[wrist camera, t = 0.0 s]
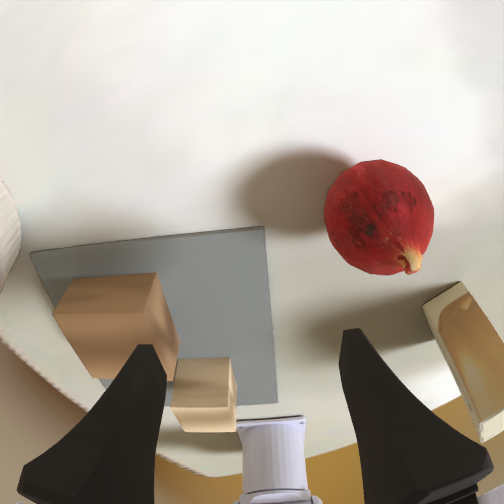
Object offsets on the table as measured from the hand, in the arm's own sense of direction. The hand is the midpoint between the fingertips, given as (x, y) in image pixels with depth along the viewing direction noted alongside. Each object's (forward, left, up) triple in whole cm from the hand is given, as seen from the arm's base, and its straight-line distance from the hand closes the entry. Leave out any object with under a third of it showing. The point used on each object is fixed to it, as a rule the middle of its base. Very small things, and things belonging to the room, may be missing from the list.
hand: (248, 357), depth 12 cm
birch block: (-14, +5, -10) cm, 18 cm away
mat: (-10, +8, -10) cm, 16 cm away
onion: (+2, -7, -10) cm, 13 cm away
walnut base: (-6, +10, -10) cm, 15 cm away
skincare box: (-10, -17, -10) cm, 22 cm away
